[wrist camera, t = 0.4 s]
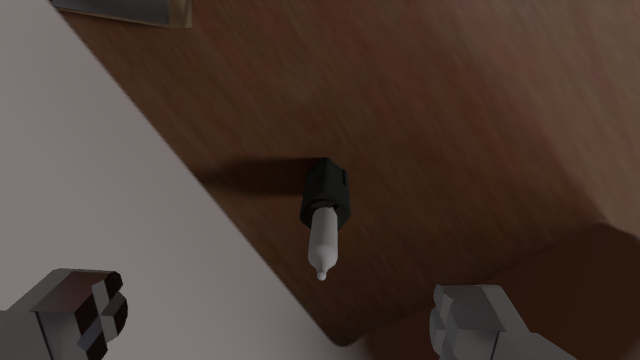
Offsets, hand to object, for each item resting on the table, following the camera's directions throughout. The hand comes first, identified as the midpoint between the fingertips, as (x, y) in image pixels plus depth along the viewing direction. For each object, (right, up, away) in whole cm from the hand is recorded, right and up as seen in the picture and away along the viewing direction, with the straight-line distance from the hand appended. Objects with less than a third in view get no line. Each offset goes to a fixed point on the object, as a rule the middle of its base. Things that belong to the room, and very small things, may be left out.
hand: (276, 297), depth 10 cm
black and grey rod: (+2, +4, +48) cm, 48 cm away
